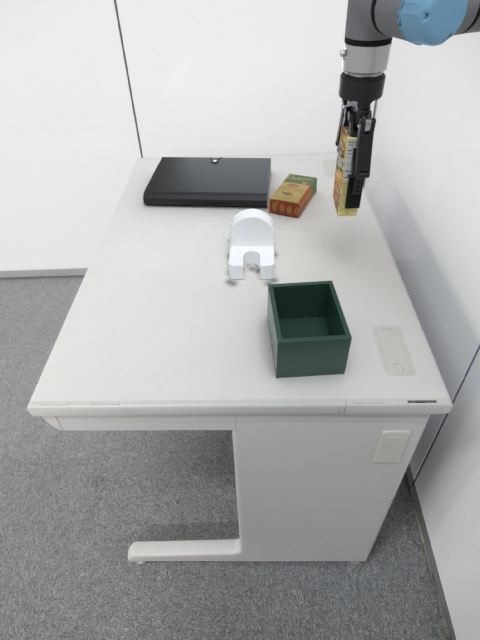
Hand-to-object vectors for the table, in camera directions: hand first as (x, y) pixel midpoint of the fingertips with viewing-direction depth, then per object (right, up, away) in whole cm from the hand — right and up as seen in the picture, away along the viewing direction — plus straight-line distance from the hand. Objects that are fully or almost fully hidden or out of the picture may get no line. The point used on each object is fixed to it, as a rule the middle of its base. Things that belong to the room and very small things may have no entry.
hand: (346, 195), depth 89 cm
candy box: (0, -2, +2) cm, 2 cm away
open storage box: (-10, -30, -10) cm, 33 cm away
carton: (-7, +7, +29) cm, 31 cm away
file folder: (-30, +13, +37) cm, 49 cm away
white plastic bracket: (-19, -11, +11) cm, 24 cm away
